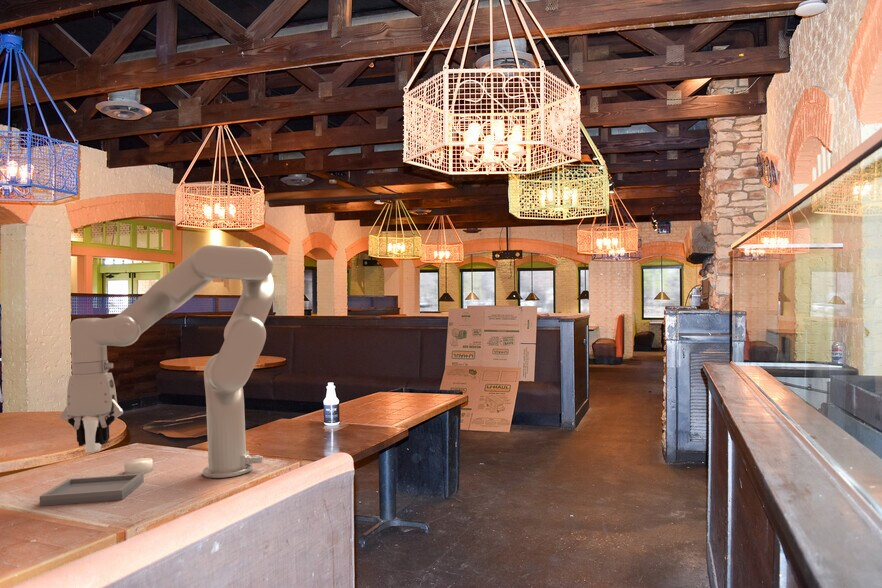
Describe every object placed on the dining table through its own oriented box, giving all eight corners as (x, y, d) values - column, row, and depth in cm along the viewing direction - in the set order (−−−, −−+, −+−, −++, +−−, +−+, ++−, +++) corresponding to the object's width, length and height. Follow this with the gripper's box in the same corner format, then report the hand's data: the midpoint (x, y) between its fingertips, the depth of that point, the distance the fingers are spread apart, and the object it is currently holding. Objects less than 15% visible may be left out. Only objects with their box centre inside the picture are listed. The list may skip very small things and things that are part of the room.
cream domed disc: (156, 467, 172) (156, 457, 172) (147, 474, 165) (147, 463, 165) (130, 469, 172) (129, 458, 172) (120, 476, 165) (119, 465, 165)
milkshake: (97, 453, 147) (96, 412, 147) (77, 453, 149) (77, 411, 149) (111, 449, 152) (110, 408, 152) (92, 448, 153) (91, 408, 153)
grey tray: (143, 481, 158) (143, 473, 158) (122, 499, 144) (122, 490, 144) (68, 487, 156) (68, 478, 156) (39, 505, 142) (39, 496, 142)
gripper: (132, 365, 155) (135, 438, 155) (60, 369, 153) (64, 443, 153) (120, 368, 147) (123, 445, 148) (45, 372, 145) (48, 450, 145)
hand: (93, 443), depth 150 cm, fingers closed on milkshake, 4 cm apart
